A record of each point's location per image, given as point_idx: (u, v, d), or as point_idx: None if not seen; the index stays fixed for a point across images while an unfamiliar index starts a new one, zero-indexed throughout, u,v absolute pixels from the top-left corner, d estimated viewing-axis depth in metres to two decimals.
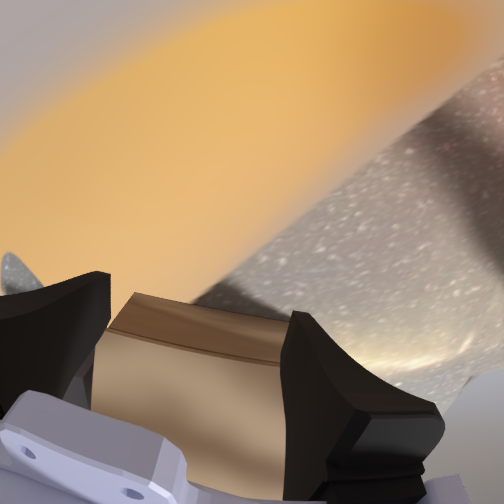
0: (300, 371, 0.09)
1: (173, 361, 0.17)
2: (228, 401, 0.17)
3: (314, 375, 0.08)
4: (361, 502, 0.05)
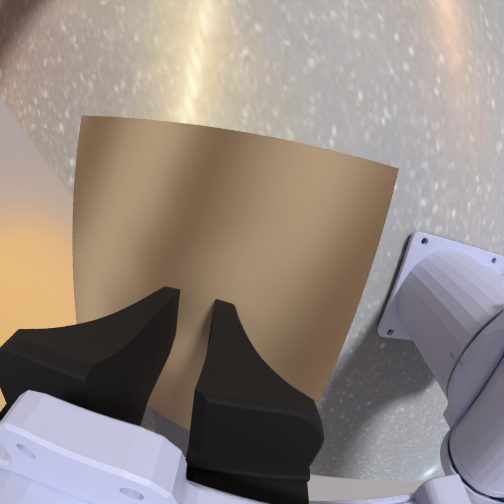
0: None
1: (82, 292, 0.15)
2: (104, 238, 0.13)
3: None
4: None
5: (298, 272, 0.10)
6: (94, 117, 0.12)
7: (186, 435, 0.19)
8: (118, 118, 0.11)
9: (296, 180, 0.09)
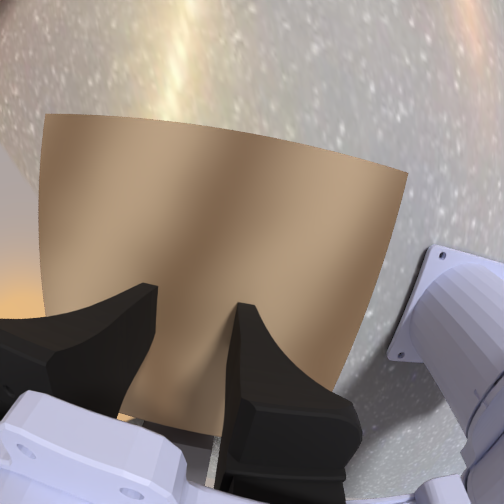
0: (234, 362, 0.09)
1: None
2: (90, 257, 0.11)
3: (237, 364, 0.08)
4: None
5: (326, 264, 0.11)
6: (66, 115, 0.09)
7: None
8: (103, 116, 0.10)
9: (325, 183, 0.10)
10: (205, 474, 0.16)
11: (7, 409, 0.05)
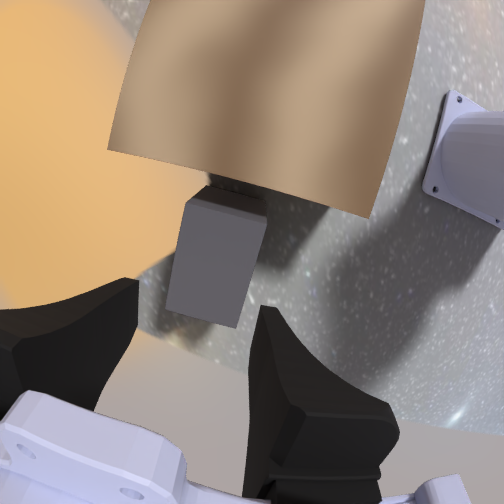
0: (261, 366, 0.09)
1: (146, 55, 0.13)
2: None
3: (269, 369, 0.08)
4: None
5: (382, 21, 0.12)
6: None
7: (213, 273, 0.16)
8: None
9: None
10: (249, 279, 0.16)
11: None
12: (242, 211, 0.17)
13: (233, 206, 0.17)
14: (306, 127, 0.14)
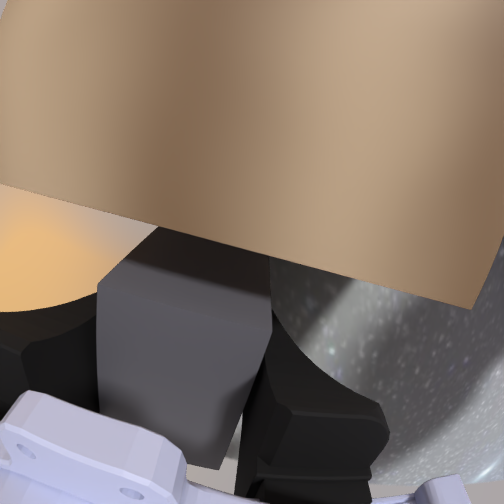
0: None
1: None
2: None
3: (260, 368, 0.08)
4: None
5: None
6: None
7: (171, 405, 0.08)
8: None
9: None
10: (237, 416, 0.08)
11: None
12: (221, 290, 0.08)
13: (204, 275, 0.09)
14: (372, 111, 0.05)
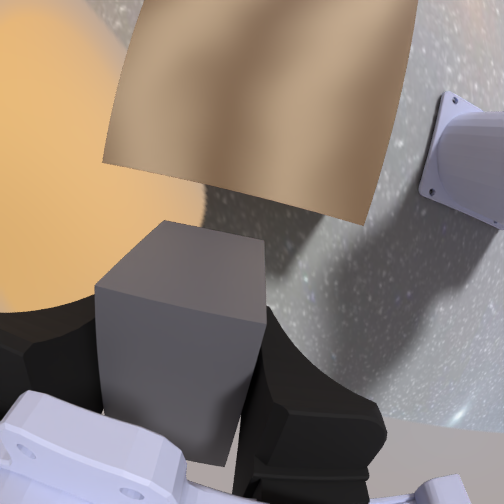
0: None
1: (137, 67, 0.13)
2: (192, 7, 0.12)
3: (258, 368, 0.08)
4: None
5: (374, 25, 0.12)
6: None
7: (173, 403, 0.08)
8: None
9: None
10: (238, 411, 0.08)
11: None
12: (216, 286, 0.08)
13: (199, 273, 0.09)
14: (299, 136, 0.14)
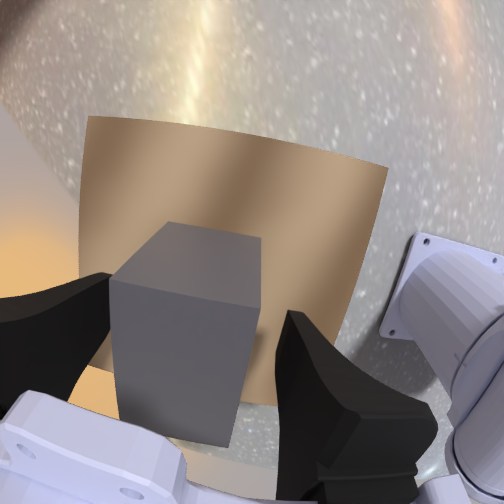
0: (294, 371, 0.09)
1: None
2: (126, 237, 0.14)
3: (307, 374, 0.08)
4: (352, 503, 0.05)
5: (323, 241, 0.14)
6: (107, 118, 0.12)
7: (179, 385, 0.09)
8: (142, 120, 0.12)
9: (321, 176, 0.13)
10: (239, 391, 0.09)
11: None
12: (216, 278, 0.09)
13: (201, 267, 0.10)
14: None
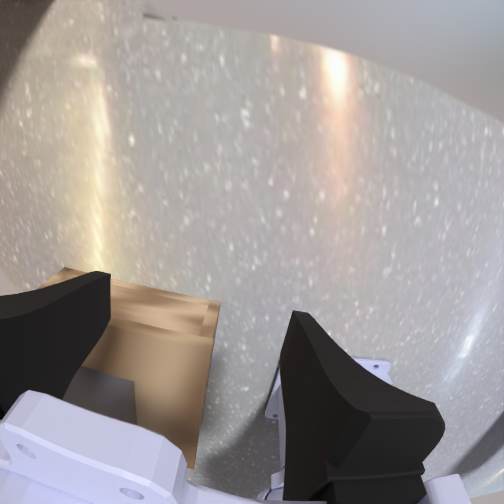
0: (300, 371, 0.09)
1: None
2: None
3: (314, 375, 0.08)
4: (361, 502, 0.05)
5: (172, 387, 0.19)
6: None
7: None
8: None
9: (163, 353, 0.18)
10: None
11: None
12: None
13: None
14: None
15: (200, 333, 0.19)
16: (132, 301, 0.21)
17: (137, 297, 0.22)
